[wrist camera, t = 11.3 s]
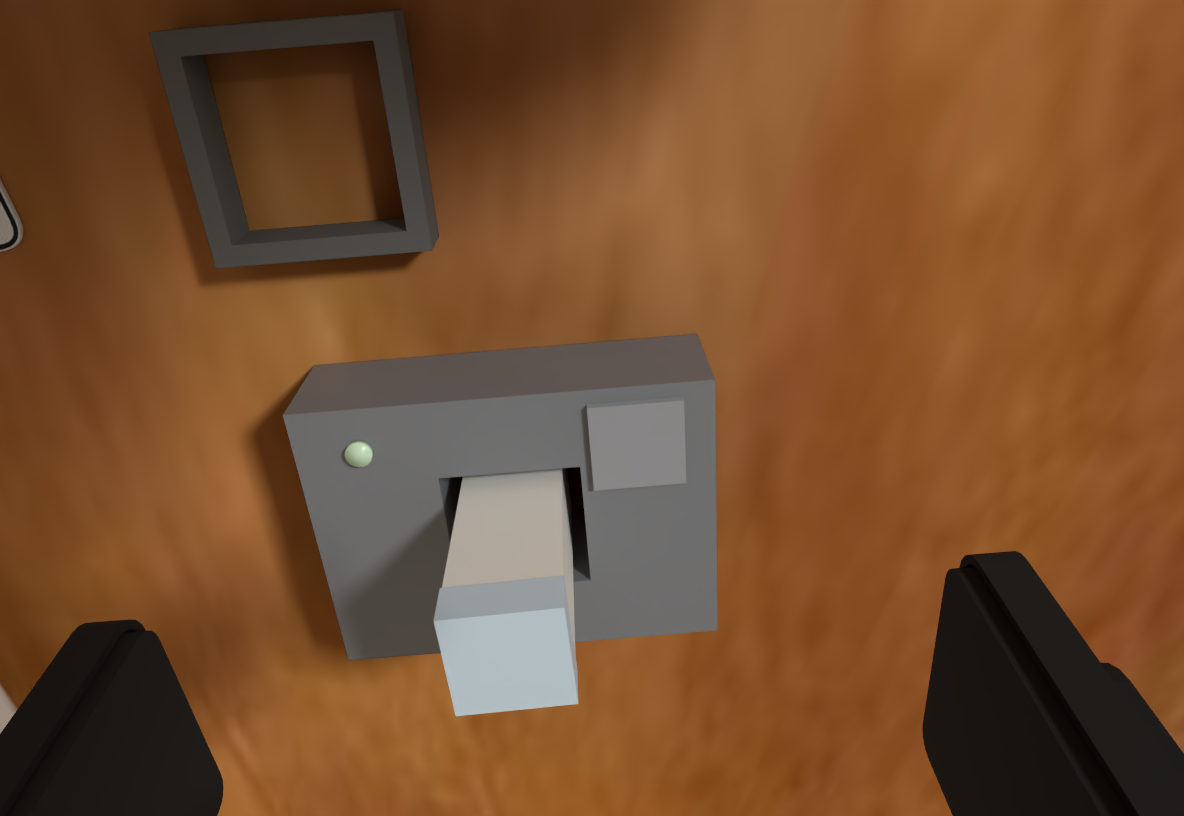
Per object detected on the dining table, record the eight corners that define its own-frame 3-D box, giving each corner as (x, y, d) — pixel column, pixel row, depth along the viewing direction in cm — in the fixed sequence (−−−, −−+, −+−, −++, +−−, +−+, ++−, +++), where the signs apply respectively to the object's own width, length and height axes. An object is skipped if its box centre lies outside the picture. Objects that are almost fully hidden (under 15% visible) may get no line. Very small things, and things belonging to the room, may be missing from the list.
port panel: (697, 333, 35) (716, 383, 31) (701, 566, 41) (718, 635, 37) (313, 365, 35) (280, 418, 31) (369, 593, 41) (347, 665, 37)
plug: (562, 426, 37) (564, 607, 26) (572, 504, 39) (578, 704, 28) (469, 435, 37) (433, 621, 27) (483, 513, 39) (456, 716, 28)
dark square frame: (403, 9, 30) (393, 11, 28) (438, 235, 33) (432, 250, 31) (173, 28, 30) (148, 32, 28) (234, 252, 33) (215, 268, 31)
